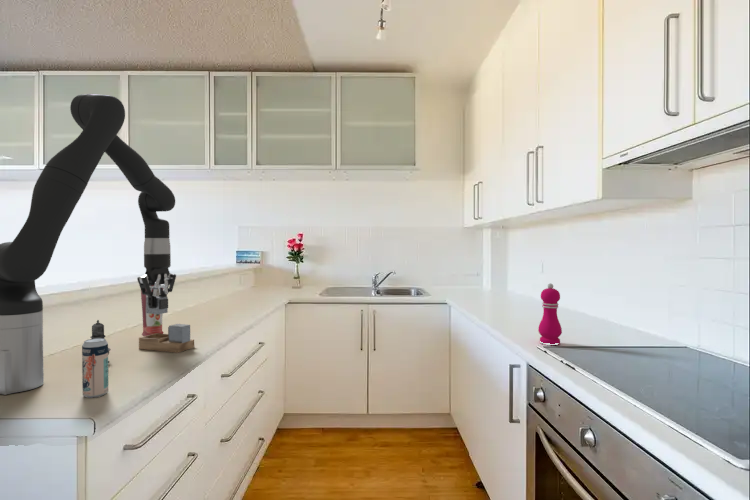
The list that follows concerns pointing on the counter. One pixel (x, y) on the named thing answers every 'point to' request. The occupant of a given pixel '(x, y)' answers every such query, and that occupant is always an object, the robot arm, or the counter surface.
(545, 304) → the pepper mill
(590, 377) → the counter surface
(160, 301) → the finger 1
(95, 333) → the dark metal lantern
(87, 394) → the beer can
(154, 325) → the liquor
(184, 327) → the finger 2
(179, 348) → the wooden tray
